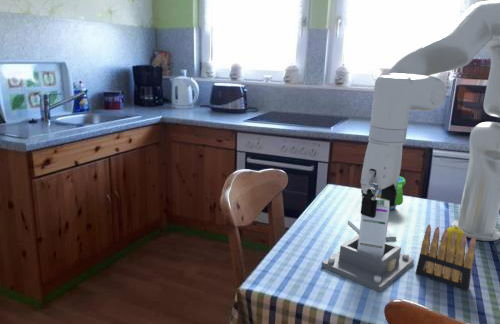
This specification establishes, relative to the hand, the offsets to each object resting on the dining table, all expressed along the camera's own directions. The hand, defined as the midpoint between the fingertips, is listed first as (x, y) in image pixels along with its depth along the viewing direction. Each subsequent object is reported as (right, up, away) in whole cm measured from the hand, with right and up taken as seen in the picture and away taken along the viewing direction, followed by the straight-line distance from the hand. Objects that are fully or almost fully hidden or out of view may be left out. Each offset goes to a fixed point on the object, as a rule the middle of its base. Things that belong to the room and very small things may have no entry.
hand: (377, 210), depth 92 cm
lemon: (+21, -13, +10) cm, 27 cm away
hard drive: (+5, -9, +23) cm, 25 cm away
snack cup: (+15, -4, +43) cm, 45 cm away
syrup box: (-1, -12, +3) cm, 13 cm away
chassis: (-1, -13, +3) cm, 14 cm away
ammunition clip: (+13, -15, -2) cm, 21 cm away
